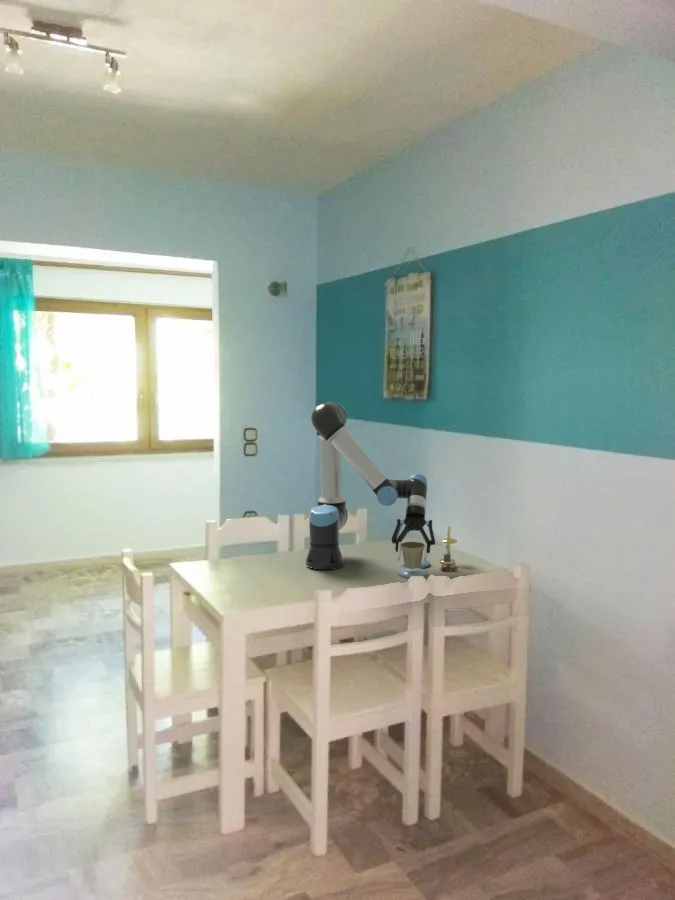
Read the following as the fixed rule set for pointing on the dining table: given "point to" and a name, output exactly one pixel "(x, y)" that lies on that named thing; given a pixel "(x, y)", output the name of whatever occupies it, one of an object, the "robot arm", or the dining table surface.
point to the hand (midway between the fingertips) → (411, 559)
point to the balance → (448, 553)
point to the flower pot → (412, 554)
